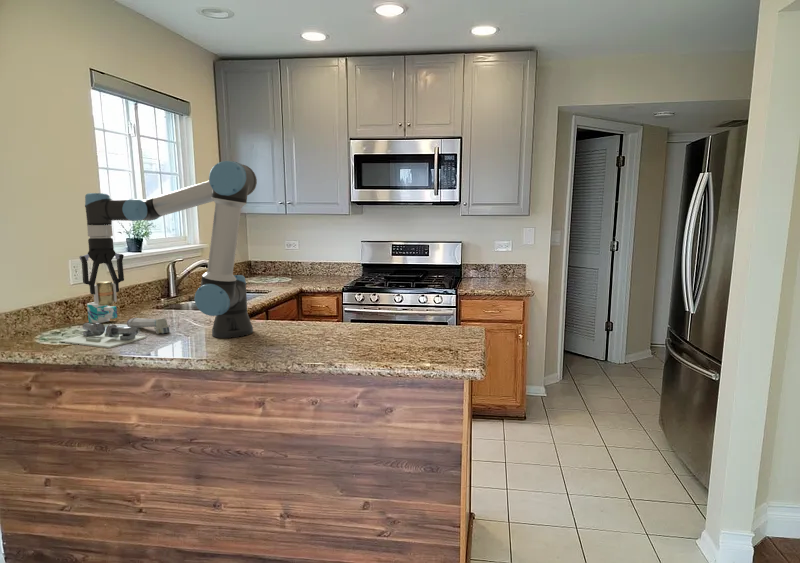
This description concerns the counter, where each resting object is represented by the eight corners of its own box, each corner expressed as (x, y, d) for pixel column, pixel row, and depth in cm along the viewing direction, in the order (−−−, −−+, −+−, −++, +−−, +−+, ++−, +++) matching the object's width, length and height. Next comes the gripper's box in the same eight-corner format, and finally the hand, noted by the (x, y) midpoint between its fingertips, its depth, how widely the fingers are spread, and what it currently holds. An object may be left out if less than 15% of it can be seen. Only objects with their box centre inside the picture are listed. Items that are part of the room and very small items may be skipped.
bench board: (145, 338, 185) (145, 334, 185) (109, 348, 171) (109, 343, 171) (97, 333, 195) (96, 329, 194) (59, 342, 181) (58, 338, 181)
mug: (98, 319, 223) (96, 301, 221) (122, 319, 221) (120, 301, 220) (84, 323, 215) (82, 304, 213) (108, 323, 213) (107, 304, 212)
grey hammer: (136, 317, 207) (170, 314, 194) (139, 332, 208) (173, 331, 194) (124, 319, 203) (158, 317, 189) (127, 335, 203) (161, 333, 190)
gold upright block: (112, 302, 180) (110, 281, 179) (115, 304, 176) (113, 282, 175) (96, 304, 176) (94, 282, 175) (99, 306, 173) (97, 283, 172)
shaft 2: (106, 340, 180) (105, 326, 180) (115, 337, 185) (114, 323, 184) (132, 340, 179) (131, 326, 178) (140, 337, 184) (139, 323, 183)
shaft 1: (105, 336, 187) (104, 322, 186) (92, 338, 183) (90, 324, 182) (94, 332, 193) (92, 319, 192) (80, 335, 189) (79, 321, 188)
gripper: (125, 236, 182) (129, 298, 185) (67, 237, 169) (73, 304, 172) (131, 237, 177) (136, 300, 180) (73, 238, 164) (79, 306, 167)
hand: (105, 302), depth 176 cm, fingers closed on gold upright block, 5 cm apart
